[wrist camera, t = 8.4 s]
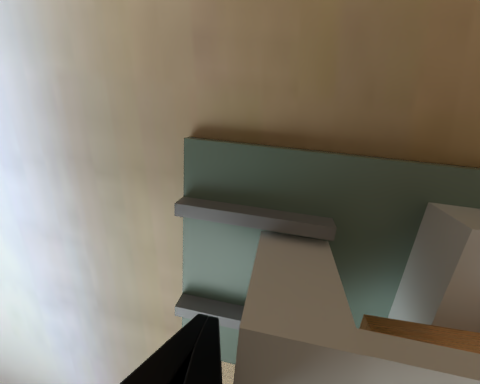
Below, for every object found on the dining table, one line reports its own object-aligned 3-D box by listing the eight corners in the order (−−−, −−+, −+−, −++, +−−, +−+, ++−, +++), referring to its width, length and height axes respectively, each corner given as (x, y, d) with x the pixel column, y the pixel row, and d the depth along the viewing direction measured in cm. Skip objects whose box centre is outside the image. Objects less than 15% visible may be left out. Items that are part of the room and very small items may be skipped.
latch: (378, 332, 12) (450, 502, 7) (252, 306, 13) (227, 437, 7) (405, 253, 10) (523, 391, 5) (261, 230, 11) (239, 327, 6)
